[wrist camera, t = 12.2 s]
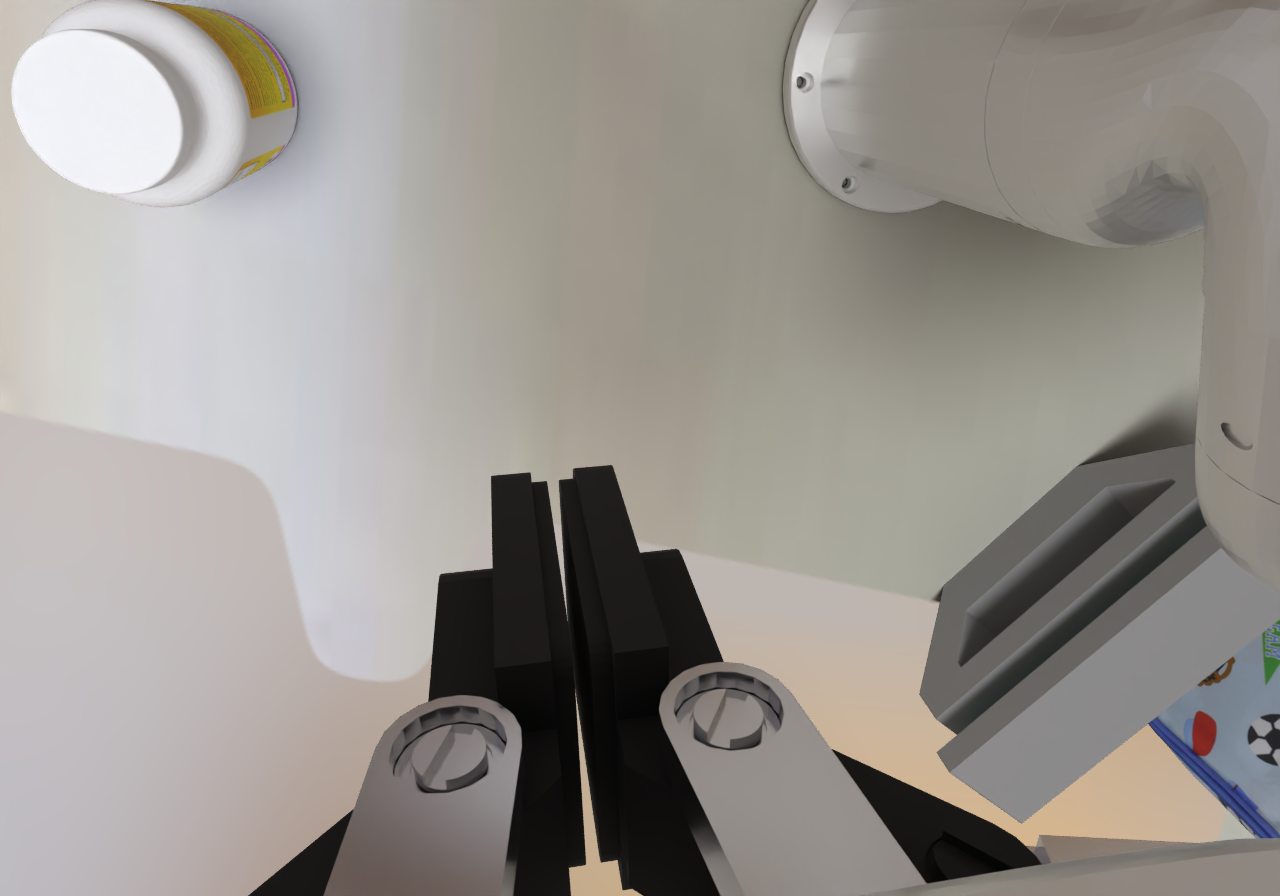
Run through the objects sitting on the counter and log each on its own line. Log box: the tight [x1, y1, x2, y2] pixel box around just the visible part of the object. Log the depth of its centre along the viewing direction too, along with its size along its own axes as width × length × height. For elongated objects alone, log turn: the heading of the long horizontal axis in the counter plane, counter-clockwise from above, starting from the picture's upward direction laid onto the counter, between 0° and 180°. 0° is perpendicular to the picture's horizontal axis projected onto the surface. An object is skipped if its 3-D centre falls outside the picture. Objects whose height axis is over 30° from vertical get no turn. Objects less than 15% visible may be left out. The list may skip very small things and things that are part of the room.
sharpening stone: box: [920, 443, 1280, 823], centre depth 51 cm, size 25×8×11 cm, turn 137°
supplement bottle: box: [11, 0, 297, 207], centre depth 30 cm, size 7×7×13 cm
